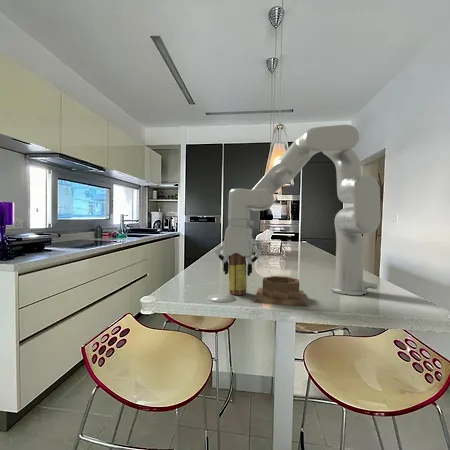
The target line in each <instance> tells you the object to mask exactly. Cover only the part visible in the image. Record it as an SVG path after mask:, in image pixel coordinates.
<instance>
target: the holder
mask: <svg viewBox="0 0 450 450" xmlns="http://www.w3.org/2000/svg"><path fill="white" fill-rule="evenodd" d="M305 295H306V294H305V291H304V290H300V280H299V279H298V278H294V277H290V276H277V275H273V276H271V275H270V276H264V277H263V278H262V287H258V288H257V291H256V294H255V296H254V303H261V304H263V303H264V304H274V305H287V306H288V305H289V306H298V307H299V306H301V307H307V306H308V303H307V299H306V296H305Z"/></svg>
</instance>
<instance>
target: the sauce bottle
mask: <svg viewBox="0 0 450 450" xmlns="http://www.w3.org/2000/svg"><path fill="white" fill-rule="evenodd" d="M228 263H229V265H228V290H229V295H232V296H243V295H245V294H247V287H248V286H247V282H248V281H247V258H246V257H242V256H241V255H240V254H238V253H234V254H232V255H231V256H229V259H228Z"/></svg>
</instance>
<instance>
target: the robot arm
mask: <svg viewBox="0 0 450 450" xmlns="http://www.w3.org/2000/svg"><path fill="white" fill-rule="evenodd" d="M359 141H360V133H359V131H358V129H357V127H355V126H353V125H350V124H337V125H336V124H335V125H325V126H323V125H322V126H316V127H311V128H309V129H307V130H306V131H304V132H302V133H301V134H300V135H299V136H298V137H297V138H295V139H294V141H293V142H292V143H291V145H290V146H289V147H288V148H287V149H286V150H285V151H284V153H283V154H282V155H281V156H280V158H278V160H277V161H276V162H275V163H274V164H273V165H272V167H271V168H270V169H269V170H268V171H267V172H266V173H265V174H264V176H263V177H262V178H261V179H260V180H259V181H258V183H256V184H255V186H254V187H253V188H252V189H251V188H250V189H247V188H232V189H230V190H229V192H228V208H227V209H228V210H227V211H228V214H227V216H228V217H227V218H228V219H227V227H226V229H225V232H224V238H223V239H224V240H223V244H222V245H221V246H220V247H218V248H217V249H216V250H215V252H214V253H215V254H216V255H217V257H218V258H219V259H220V261H221V262H222V263H223V265H222V266H223V268H222V270H223V272H224V275H229V256H231V255H232V254H234V253H238V254H240V255H241V256H242V257H246V261H247V265H246V276H247V277H250V275H251V274H252V273H253V264H254V262H256V261H257V260H258V259H259V258H260V256H261V255H262V252H261V251H260V250H259V249H258V248H257V247H255V246H254V238H253V236H254V235H253V229H252V228H250V227H251V226H254V225H255V224H254V221H253V220H251V219H250V217H251V216H250V215H251V213H250V211H254V212H259V211H266V210H269V209H270V208H271V207H272V206H273V204H274V203H275V196H274V195H275V194H276V192H277V191H278V190H280V189H282V187H283V186H285V185H286V184H288V183H290V182H291V181H292V180H293V179H295V177H297V175H298V174H299V173H300V172H301V170H302V169H303V167H304V166H305V165H306V164H307V163H308V162H309V161H310V159H311V158H312V157H313V156H314V155H316V154H318V153H323V155H325V156H326V157H328V158H329V159H330V160H331V161H332V162H333V164H334V166H335V170H336V171H335V172H336V192H337V199H338V200H339V201H340V202H341V203H343V204H348V205H349V204H353V206H350V207H344V208H341V209H340V210H338V212H337V213H336V214H335V217H334V229H335V241H336V245H335V246H336V247H335V275H334V278H335V280H334V284H333V285H331V286H330V291H332V292H335V293H337V294H342V295H346V294H347V295H348V296H364V295H363V294H365V295H367V294H368V289H371V290H372V289H374V290H375V289H376V290H377V289H378V284H377V283H372V282H368V281H365V280H364V255H365V254H364V253H365V244H364V243H365V242H364V238H363V235H365V234H367V235H368V234H372V233H374V232H376V230H378V228H379V226H380V223H381V193H380V191H381V190H380V186H379V184H378V182H377V180H376V178H374V176H371V175H369V174H362V164H361V161H360V158H359V156H358V155H357V153H356V152H355V151H354V150H353V149H354V148H355V147H356V146H357V145H358V143H359ZM222 251H223V254H222V253H221V252H222ZM254 253H255V255H254V257H252V255H253V254H254ZM366 293H367V294H366Z"/></svg>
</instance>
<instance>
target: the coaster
mask: <svg viewBox="0 0 450 450" xmlns="http://www.w3.org/2000/svg"><path fill="white" fill-rule="evenodd" d="M207 300H208V301H210V302H212V303H220V304H221V303H222V304H223V303H231V302H234V301H235V300H236V298H235V295H233V294H229V293H215V294H214V293H213V294H210V295H208V296H207Z"/></svg>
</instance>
